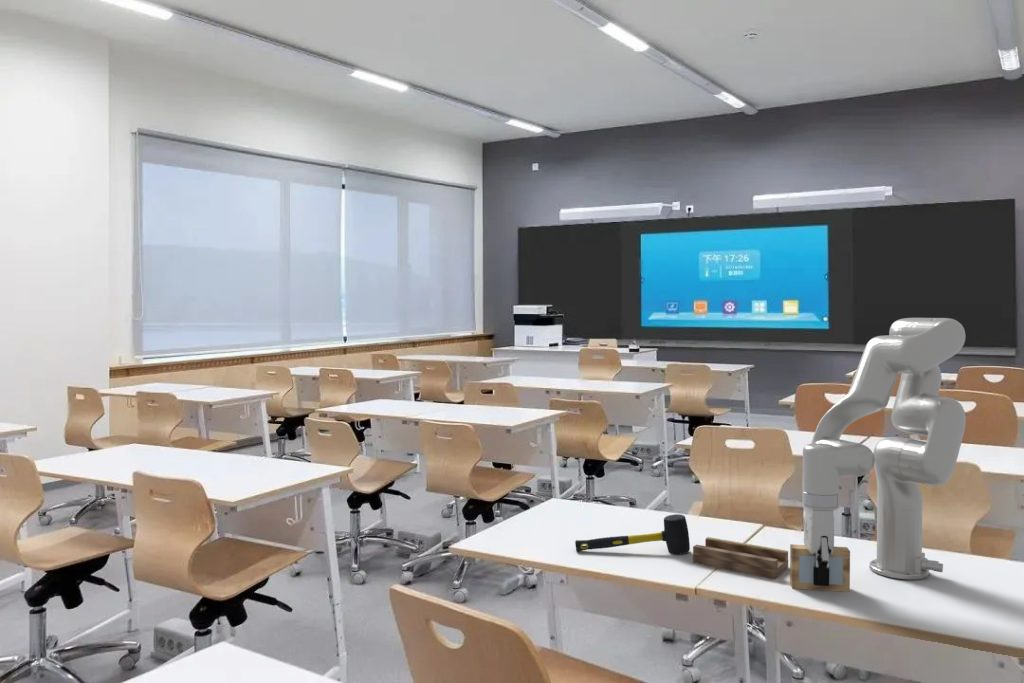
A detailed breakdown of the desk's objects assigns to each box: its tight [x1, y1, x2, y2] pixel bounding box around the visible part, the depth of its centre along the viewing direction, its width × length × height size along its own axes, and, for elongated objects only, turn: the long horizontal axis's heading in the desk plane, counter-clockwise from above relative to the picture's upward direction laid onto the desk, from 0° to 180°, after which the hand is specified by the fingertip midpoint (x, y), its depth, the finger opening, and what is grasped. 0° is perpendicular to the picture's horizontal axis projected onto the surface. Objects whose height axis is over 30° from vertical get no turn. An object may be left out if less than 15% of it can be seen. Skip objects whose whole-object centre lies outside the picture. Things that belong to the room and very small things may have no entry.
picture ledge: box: [692, 536, 789, 580], centre depth 190 cm, size 20×10×4 cm, turn 54°
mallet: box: [574, 514, 691, 555], centre depth 202 cm, size 29×6×10 cm, turn 88°
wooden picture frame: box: [789, 543, 851, 593], centre depth 174 cm, size 12×3×9 cm, turn 79°
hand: (819, 581), depth 175 cm, fingers closed on wooden picture frame, 3 cm apart
